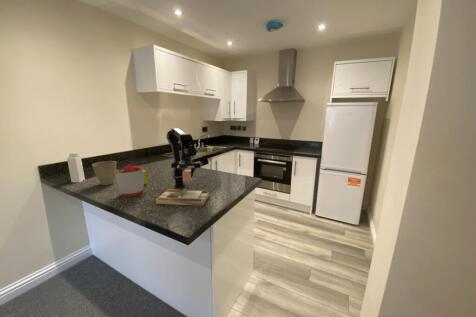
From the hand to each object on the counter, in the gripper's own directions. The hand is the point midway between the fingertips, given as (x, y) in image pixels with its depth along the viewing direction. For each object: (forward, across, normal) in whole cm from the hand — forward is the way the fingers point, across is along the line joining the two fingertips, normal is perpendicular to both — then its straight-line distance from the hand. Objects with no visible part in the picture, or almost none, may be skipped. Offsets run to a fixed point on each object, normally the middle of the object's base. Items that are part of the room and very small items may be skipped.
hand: (187, 177), depth 125 cm
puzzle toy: (+11, -44, +16) cm, 49 cm away
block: (+1, 0, 0) cm, 1 cm away
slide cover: (+9, +4, -9) cm, 13 cm away
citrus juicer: (+11, -38, -2) cm, 40 cm away
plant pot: (+11, -68, +15) cm, 70 cm away
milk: (+11, -94, +19) cm, 97 cm away
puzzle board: (+11, 0, -9) cm, 14 cm away
